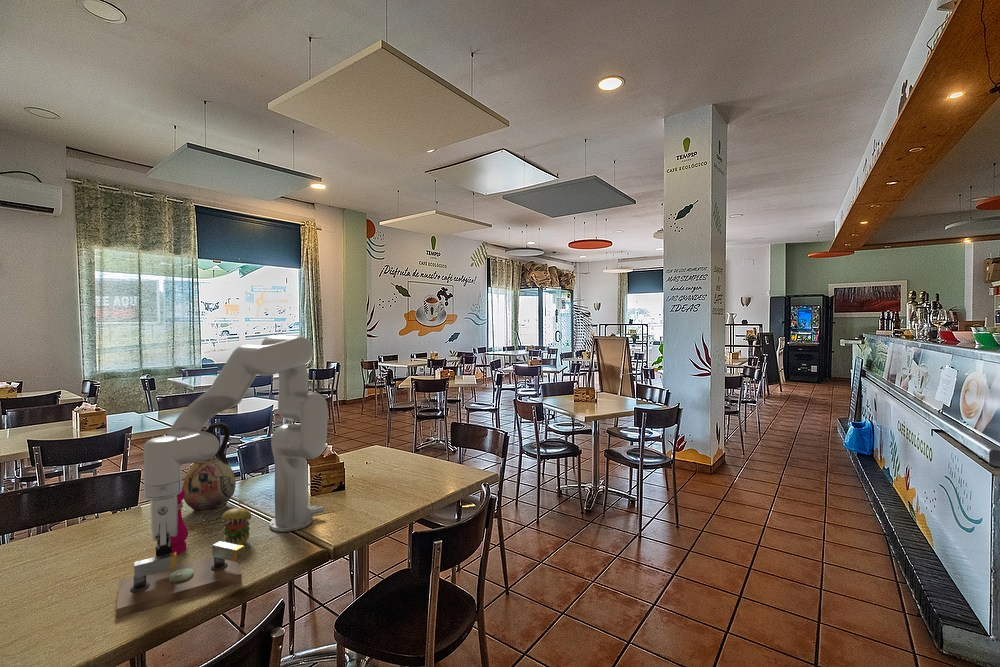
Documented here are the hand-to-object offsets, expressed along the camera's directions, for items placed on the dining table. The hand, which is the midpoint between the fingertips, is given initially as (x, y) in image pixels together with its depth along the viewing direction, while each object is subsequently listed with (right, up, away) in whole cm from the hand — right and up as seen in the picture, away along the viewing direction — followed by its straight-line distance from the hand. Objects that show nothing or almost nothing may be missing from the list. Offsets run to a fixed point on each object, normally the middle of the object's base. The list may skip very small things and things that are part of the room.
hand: (164, 561), depth 116 cm
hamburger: (+7, -5, +20) cm, 22 cm away
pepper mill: (-8, -5, +15) cm, 18 cm away
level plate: (+5, -5, -1) cm, 7 cm away
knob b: (+1, -3, -4) cm, 5 cm away
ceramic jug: (-15, -4, +44) cm, 47 cm away
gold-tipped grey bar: (+14, -3, +3) cm, 15 cm away
